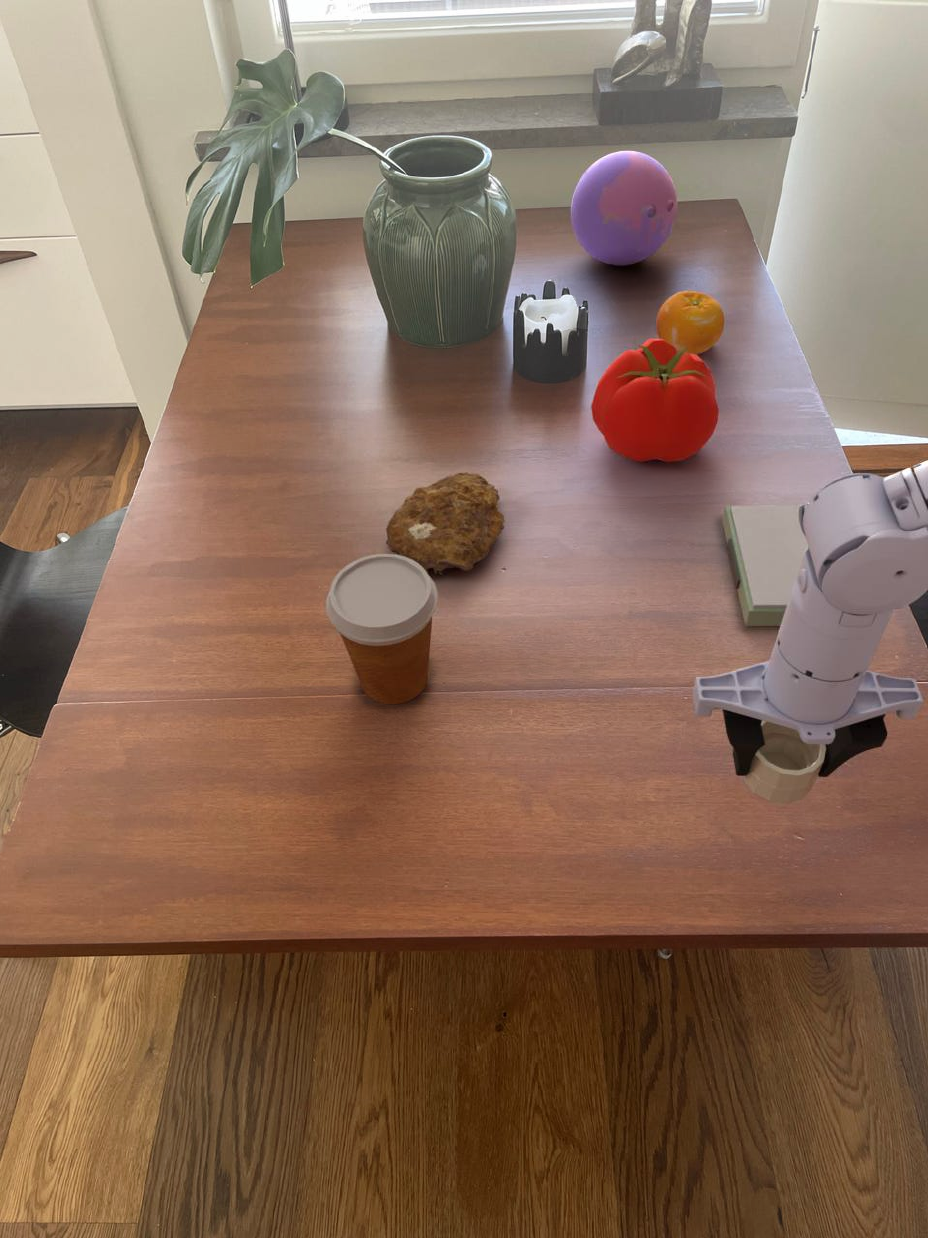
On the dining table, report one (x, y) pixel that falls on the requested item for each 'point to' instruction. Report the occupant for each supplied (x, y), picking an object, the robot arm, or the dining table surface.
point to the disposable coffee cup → (385, 623)
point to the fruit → (690, 322)
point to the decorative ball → (624, 208)
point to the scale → (764, 558)
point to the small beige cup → (784, 765)
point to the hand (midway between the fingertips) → (779, 765)
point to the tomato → (656, 403)
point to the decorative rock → (447, 523)
